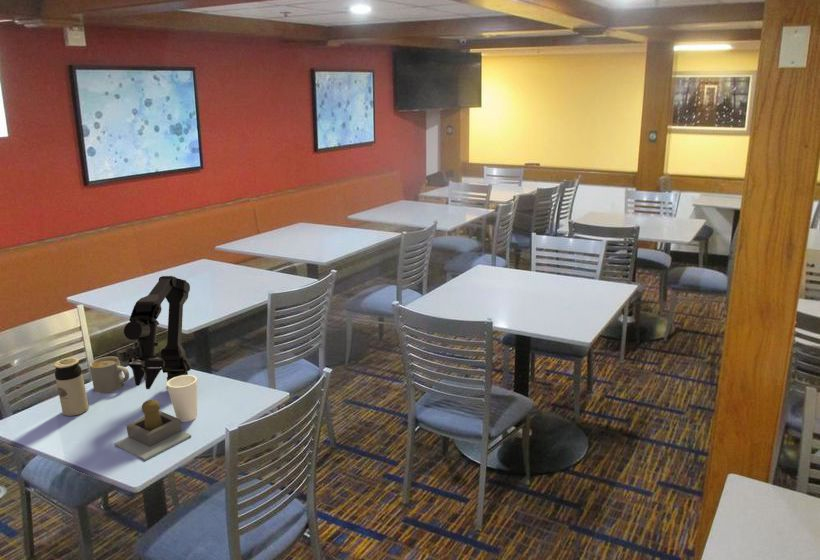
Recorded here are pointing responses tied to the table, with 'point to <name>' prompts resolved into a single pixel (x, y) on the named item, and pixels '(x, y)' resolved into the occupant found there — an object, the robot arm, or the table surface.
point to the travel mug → (71, 386)
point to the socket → (152, 437)
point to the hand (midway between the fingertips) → (142, 387)
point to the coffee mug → (108, 374)
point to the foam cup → (184, 396)
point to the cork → (152, 414)
